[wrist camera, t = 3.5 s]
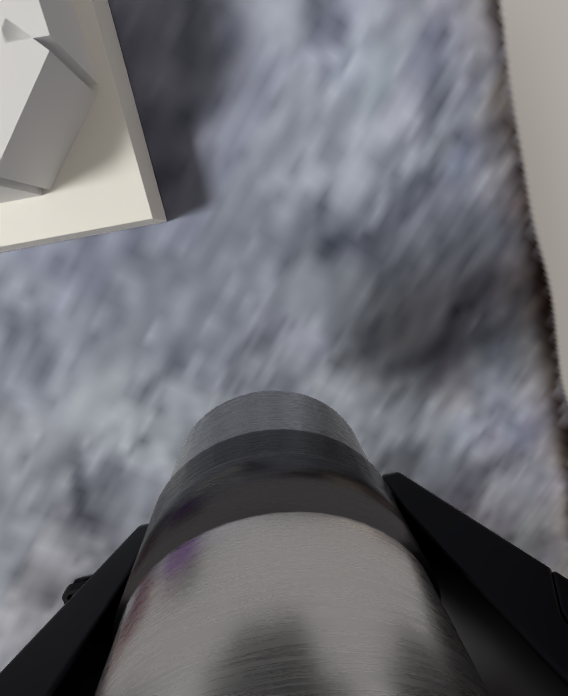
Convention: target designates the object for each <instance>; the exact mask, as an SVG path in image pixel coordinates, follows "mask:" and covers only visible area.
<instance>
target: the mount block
mask: <svg viewBox="0 0 568 696" xmlns="http://www.w3.org/2000/svg"><path fill="white" fill-rule="evenodd" d="M163 222H167V220H166V216H165V212H164V208H163V205H162V201H161V197H160V193H159V190H158V186H157V182H156V178H155V175H154V171H153V167H152V164H151V160H150V156H149V152H148V149H147V145H146V141H145V137H144V134H143V130H142V126H141V122H140V119H139V115H138V111H137V108H136V104H135V100H134V96H133V93H132V89H131V85H130V81H129V78H128V74H127V70H126V66H125V63H124V59H123V55H122V52H121V48H120V44H119V40H118V37H117V33H116V29H115V25H114V22H113V18H112V14H111V10H110V7H109V3H108V0H0V253H2V252H7V251H12V250H18V249H23V248H29V247H34V246H39V245H45V244H50V243H55V242H61V241H66V240H72V239H77V238H82V237H88V236H93V235H99V234H104V233H109V232H115V231H120V230H125V229H131V228H136V227H142V226H147V225H152V224H158V223H163Z"/></svg>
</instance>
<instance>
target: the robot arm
mask: <svg viewBox="0 0 568 696" xmlns="http://www.w3.org/2000/svg"><path fill="white" fill-rule="evenodd" d="M382 478H383V480H384V482H385V484H386V486H387V487H388V489H389V491H390V493H391V495H392V497H393V499H394V500H395V502H396V504H397V506H398V508H399V510H400V511H401V513H402V515H403V517H404V519H405V521H406V523H407V524H408V526H409V528H410V530H411V532H412V534H413V536H414V537H415V539H416V541H417V543H418V545H419V547H420V549H421V550H422V552H423V554H424V556H425V558H426V560H427V561H428V563H429V565H430V567H431V569H432V571H433V573H434V574H435V577H436V580H437V582H438V585H439V588H440V593H441V600H442V604H443V606H444V608H445V610H446V612H447V614H448V615H449V617H450V619H451V621H452V623H453V625H454V627H455V629H456V631H457V633H458V635H459V637H460V639H461V641H462V642H463V644H464V646H465V648H466V650H467V652H468V654H469V656H470V658H471V660H472V662H473V664H474V666H475V668H476V669H477V671H478V673H479V675H480V677H481V679H482V681H483V683H484V685H485V687H486V689H487V691H488V693H489V695H490V696H568V579H566V578H565V577H563V576H562V575H560V574H559V573H557V572H552V571H551V569H550V568H549V567H547V566H546V565H544V564H543V563H541V562H539V561H538V560H536V559H535V558H533V557H532V556H530V555H528V554H527V553H525V552H524V551H522V550H521V549H519V548H517V547H516V546H514V545H513V544H511V543H510V542H508V541H506V540H505V539H503V538H502V537H500V536H499V535H497V534H495V533H494V532H492V531H491V530H489V529H487V528H486V527H484V526H483V525H481V524H480V523H478V522H476V521H475V520H473V519H472V518H470V517H469V516H467V515H465V514H464V513H462V512H461V511H459V510H458V509H456V508H454V507H453V506H451V505H450V504H448V503H447V502H445V501H443V500H442V499H440V498H439V497H437V496H436V495H434V494H432V493H431V492H429V491H428V490H426V489H425V488H423V487H421V486H420V485H418V484H417V483H415V482H414V481H412V480H410V479H409V478H407V477H406V476H404V475H403V474H401V473H398V472H395V473H390V474H385V475H383V476H382ZM148 525H149V524H144V525H141V526H139V527H138V528H137V529H136V530H135V531H134V532H133V533H132V534H131V535H130V536H129V537H128V538H127V539H126V540H125V541H124V542H123V544H122V545H121V546H120V547H119V548H118V549H117V550H116V551H115V552H114V553H113V554H112V555H111V556H110V557H109V558H108V559H107V560H106V562H105V563H104V564H103V565H102V566H101V567H100V568H99V569H98V570H97V571H96V572H95V573H94V574H93V575H92V576H91V577H90V578H89V579H88V580H87V581H82V582H78V583H73V584H70V585H69V586H68V587H67V588H66V590H65V592H64V594H63V596H62V599H63V602H64V604H65V605H64V606H63V607H62V608H61V609H60V610H59V611H58V612H57V613H56V614H55V615H54V617H53V618H52V619H51V620H50V621H49V622H48V623H47V624H46V625H45V626H44V627H43V628H42V629H41V630H40V631H39V632H38V633H37V634H36V636H35V637H34V638H33V639H32V640H31V641H30V642H29V643H28V644H27V645H26V646H25V647H24V648H23V649H22V650H21V651H20V652H19V654H18V655H17V656H16V657H15V658H14V659H13V660H12V661H11V662H10V663H9V664H8V665H7V666H6V667H5V668H4V669H3V670H2V671H1V673H0V696H94V695H95V692H96V689H97V686H98V684H99V681H100V678H101V675H102V672H103V669H104V667H105V664H106V661H107V658H108V655H109V652H110V649H111V647H112V639H113V625H114V620H115V615H116V611H117V609H118V606H119V603H120V601H121V598H122V595H123V592H124V590H125V587H126V584H127V582H128V579H129V576H130V574H131V571H132V568H133V566H134V563H135V560H136V557H137V555H138V552H139V549H140V547H141V544H142V541H143V539H144V536H145V533H146V530H147V528H148Z"/></svg>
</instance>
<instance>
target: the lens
mask: <svg viewBox="0 0 568 696" xmlns="http://www.w3.org/2000/svg"><path fill="white" fill-rule="evenodd" d="M94 696H490V695H489V693H488V691H487V689H486V687H485V685H484V683H483V681H482V679H481V677H480V675H479V673H478V671H477V669H476V668H475V666H474V664H473V662H472V660H471V658H470V656H469V654H468V652H467V650H466V648H465V646H464V644H463V642H462V641H461V639H460V637H459V635H458V633H457V631H456V629H455V627H454V625H453V623H452V621H451V619H450V617H449V615H448V614H447V612H446V610H445V608H444V606H443V604H442V600H441V593H440V588H439V585H438V582H437V580H436V577H435V574H434V573H433V571H432V569H431V567H430V565H429V563H428V561H427V560H426V558H425V556H424V554H423V552H422V550H421V549H420V547H419V545H418V543H417V541H416V539H415V537H414V536H413V534H412V532H411V530H410V528H409V526H408V524H407V523H406V521H405V519H404V517H403V515H402V513H401V511H400V510H399V508H398V506H397V504H396V502H395V500H394V499H393V497H392V495H391V493H390V491H389V489H388V487H387V486H386V484H385V482H384V480H383V478H382V477H381V475H380V474H379V473H378V471H377V470H376V469H375V468H374V466H373V465H372V464H371V463H370V462H369V461H368V459H367V457H366V455H365V453H364V451H363V450H362V448H361V446H360V444H359V442H358V440H357V438H356V436H355V434H354V433H353V431H352V429H351V427H350V426H349V425H348V424H347V422H346V421H345V420H344V419H343V418H342V417H341V416H340V415H339V414H338V413H337V412H336V411H334V410H333V409H332V408H330V407H329V406H327V405H326V404H324V403H322V402H320V401H318V400H316V399H314V398H311V397H308V396H306V395H302V394H298V393H294V392H287V391H261V392H254V393H250V394H246V395H242V396H239V397H236V398H234V399H231V400H229V401H226V402H225V403H223V404H221V405H219V406H217V407H216V408H214V409H213V410H212V411H210V412H209V413H207V414H206V415H205V416H204V417H203V418H202V419H201V420H200V421H199V422H198V423H197V424H196V425H195V426H194V427H193V429H192V430H191V431H190V433H189V434H188V436H187V438H186V439H185V441H184V443H183V445H182V448H181V450H180V453H179V456H178V459H177V461H176V464H175V467H174V470H173V473H172V476H171V479H170V481H169V482H168V483H167V485H166V486H165V488H164V490H163V492H162V493H161V495H160V497H159V499H158V501H157V504H156V506H155V509H154V512H153V514H152V517H151V520H150V522H149V525H148V528H147V530H146V533H145V536H144V539H143V541H142V544H141V547H140V549H139V552H138V555H137V557H136V560H135V563H134V566H133V568H132V571H131V574H130V576H129V579H128V582H127V584H126V587H125V590H124V592H123V595H122V598H121V601H120V603H119V606H118V609H117V611H116V615H115V620H114V625H113V639H112V647H111V649H110V652H109V655H108V658H107V661H106V664H105V667H104V669H103V672H102V675H101V678H100V681H99V684H98V686H97V689H96V692H95V695H94Z"/></svg>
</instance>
